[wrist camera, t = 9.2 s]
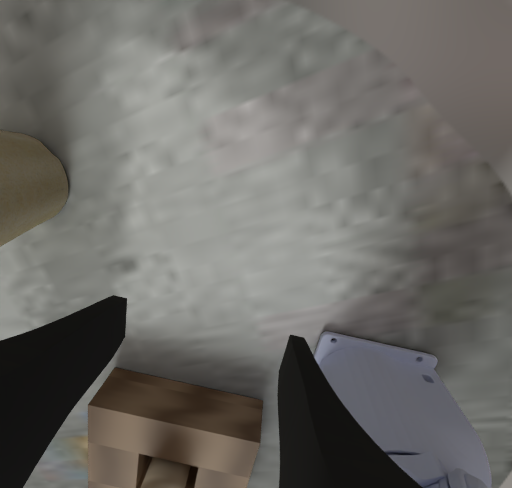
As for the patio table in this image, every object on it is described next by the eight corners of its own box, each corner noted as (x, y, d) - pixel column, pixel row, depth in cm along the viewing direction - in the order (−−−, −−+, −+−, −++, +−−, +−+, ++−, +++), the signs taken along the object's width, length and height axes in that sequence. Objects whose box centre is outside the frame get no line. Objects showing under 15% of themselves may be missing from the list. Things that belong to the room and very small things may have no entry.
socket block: (262, 400, 27) (260, 443, 23) (236, 493, 32) (230, 541, 28) (115, 367, 27) (87, 405, 23) (111, 465, 32) (88, 509, 28)
